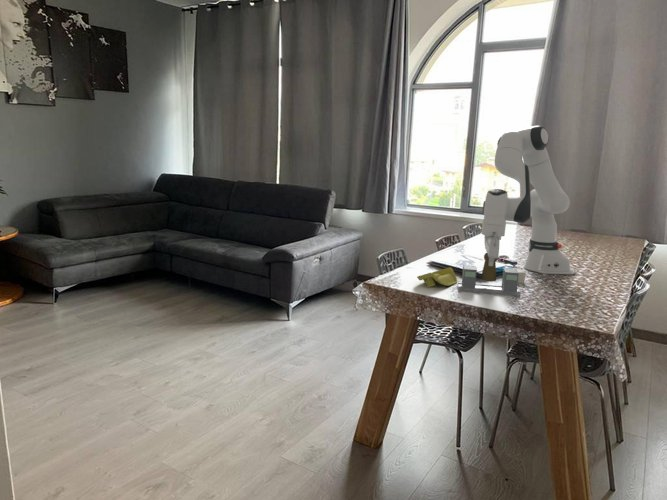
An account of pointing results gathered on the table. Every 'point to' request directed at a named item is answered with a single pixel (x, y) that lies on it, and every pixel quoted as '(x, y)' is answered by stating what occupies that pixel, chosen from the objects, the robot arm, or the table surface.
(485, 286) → the rail
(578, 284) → the table surface
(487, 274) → the cork
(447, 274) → the plastic component
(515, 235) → the table surface
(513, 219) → the robot arm
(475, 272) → the block
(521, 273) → the beige block
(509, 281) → the block
